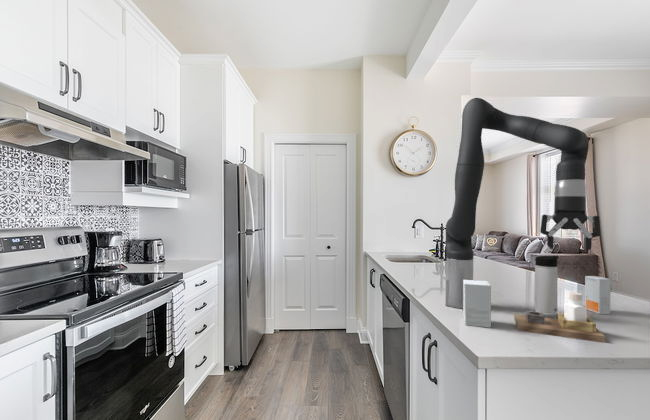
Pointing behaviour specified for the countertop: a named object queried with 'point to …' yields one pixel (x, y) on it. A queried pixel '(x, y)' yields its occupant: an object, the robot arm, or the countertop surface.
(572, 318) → the pepper shaker
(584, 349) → the countertop surface
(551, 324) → the brown wooden flat board
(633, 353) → the countertop surface
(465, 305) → the supplement box
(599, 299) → the skincare box
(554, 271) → the travel mug
